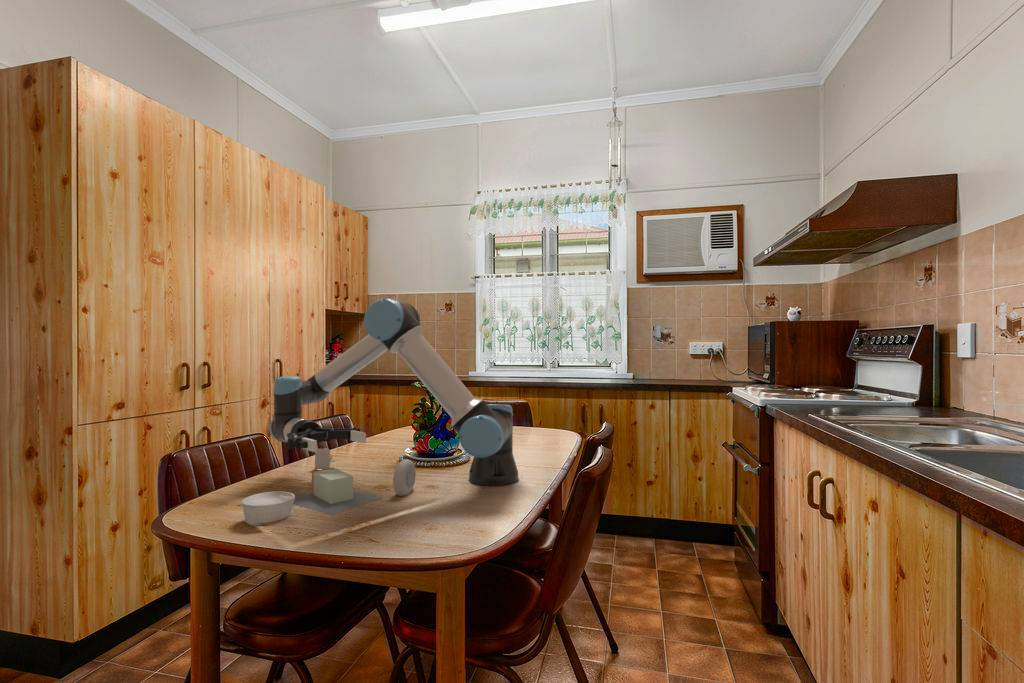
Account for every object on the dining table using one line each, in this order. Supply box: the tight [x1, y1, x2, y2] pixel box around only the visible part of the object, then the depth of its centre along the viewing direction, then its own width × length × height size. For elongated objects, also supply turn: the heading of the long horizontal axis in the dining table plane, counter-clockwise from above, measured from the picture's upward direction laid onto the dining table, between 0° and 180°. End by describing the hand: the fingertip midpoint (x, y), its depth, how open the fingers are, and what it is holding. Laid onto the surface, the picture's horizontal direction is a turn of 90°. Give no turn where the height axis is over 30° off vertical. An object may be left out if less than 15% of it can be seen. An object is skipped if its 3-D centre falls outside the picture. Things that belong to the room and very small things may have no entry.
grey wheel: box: [392, 458, 417, 497], centre depth 135 cm, size 10×4×10 cm, turn 168°
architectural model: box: [314, 447, 340, 470], centre depth 164 cm, size 3×7×7 cm, turn 75°
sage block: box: [311, 467, 354, 504], centre depth 132 cm, size 6×6×12 cm
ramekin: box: [241, 490, 296, 528], centre depth 117 cm, size 11×11×5 cm
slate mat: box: [293, 489, 383, 516], centre depth 130 cm, size 20×16×1 cm
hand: (341, 442), depth 127 cm, fingers open, 13 cm apart
